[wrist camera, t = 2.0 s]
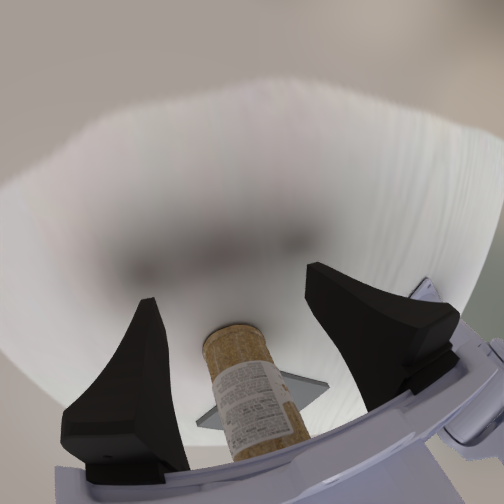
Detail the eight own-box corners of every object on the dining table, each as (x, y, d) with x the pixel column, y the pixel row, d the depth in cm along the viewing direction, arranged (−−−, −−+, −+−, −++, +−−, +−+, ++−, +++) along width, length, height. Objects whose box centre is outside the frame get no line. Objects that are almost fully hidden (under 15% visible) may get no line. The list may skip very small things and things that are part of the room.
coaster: (327, 383, 26) (329, 387, 26) (265, 430, 28) (267, 433, 28) (262, 366, 21) (265, 371, 20) (196, 421, 23) (197, 426, 22)
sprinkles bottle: (264, 355, 20) (340, 510, 9) (207, 370, 19) (262, 537, 8) (261, 313, 18) (362, 502, 7) (194, 330, 17) (257, 541, 6)
